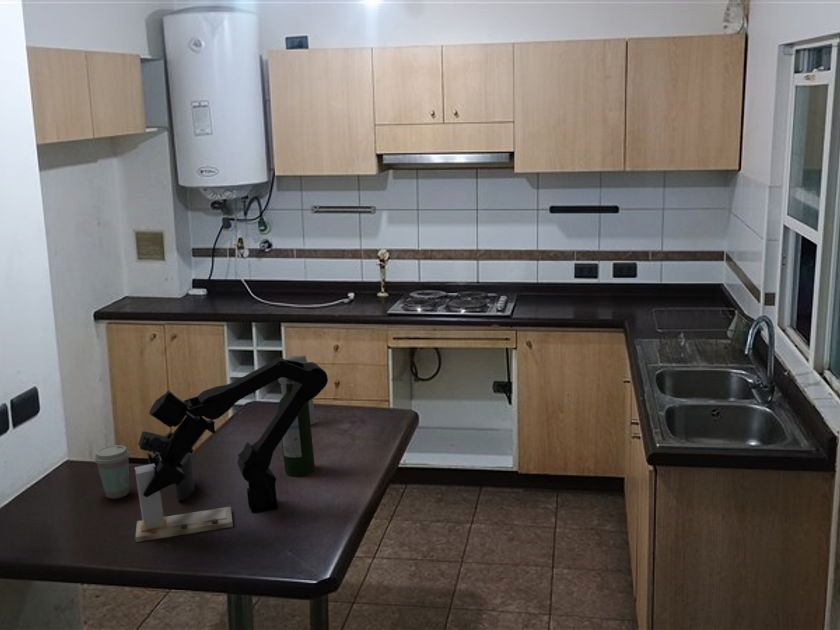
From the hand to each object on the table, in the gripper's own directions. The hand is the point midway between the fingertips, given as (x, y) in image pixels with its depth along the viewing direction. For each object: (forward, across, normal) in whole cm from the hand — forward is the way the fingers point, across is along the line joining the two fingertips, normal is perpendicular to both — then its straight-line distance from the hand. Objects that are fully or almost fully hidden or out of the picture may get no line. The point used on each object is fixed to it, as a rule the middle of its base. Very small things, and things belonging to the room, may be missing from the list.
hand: (143, 491), depth 227 cm
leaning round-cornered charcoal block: (0, -21, +15) cm, 26 cm away
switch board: (+1, +2, +13) cm, 13 cm away
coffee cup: (+10, -27, +4) cm, 29 cm away
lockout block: (+5, 0, +7) cm, 9 cm away
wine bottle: (-22, -16, +37) cm, 46 cm away
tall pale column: (-29, -50, +44) cm, 73 cm away
